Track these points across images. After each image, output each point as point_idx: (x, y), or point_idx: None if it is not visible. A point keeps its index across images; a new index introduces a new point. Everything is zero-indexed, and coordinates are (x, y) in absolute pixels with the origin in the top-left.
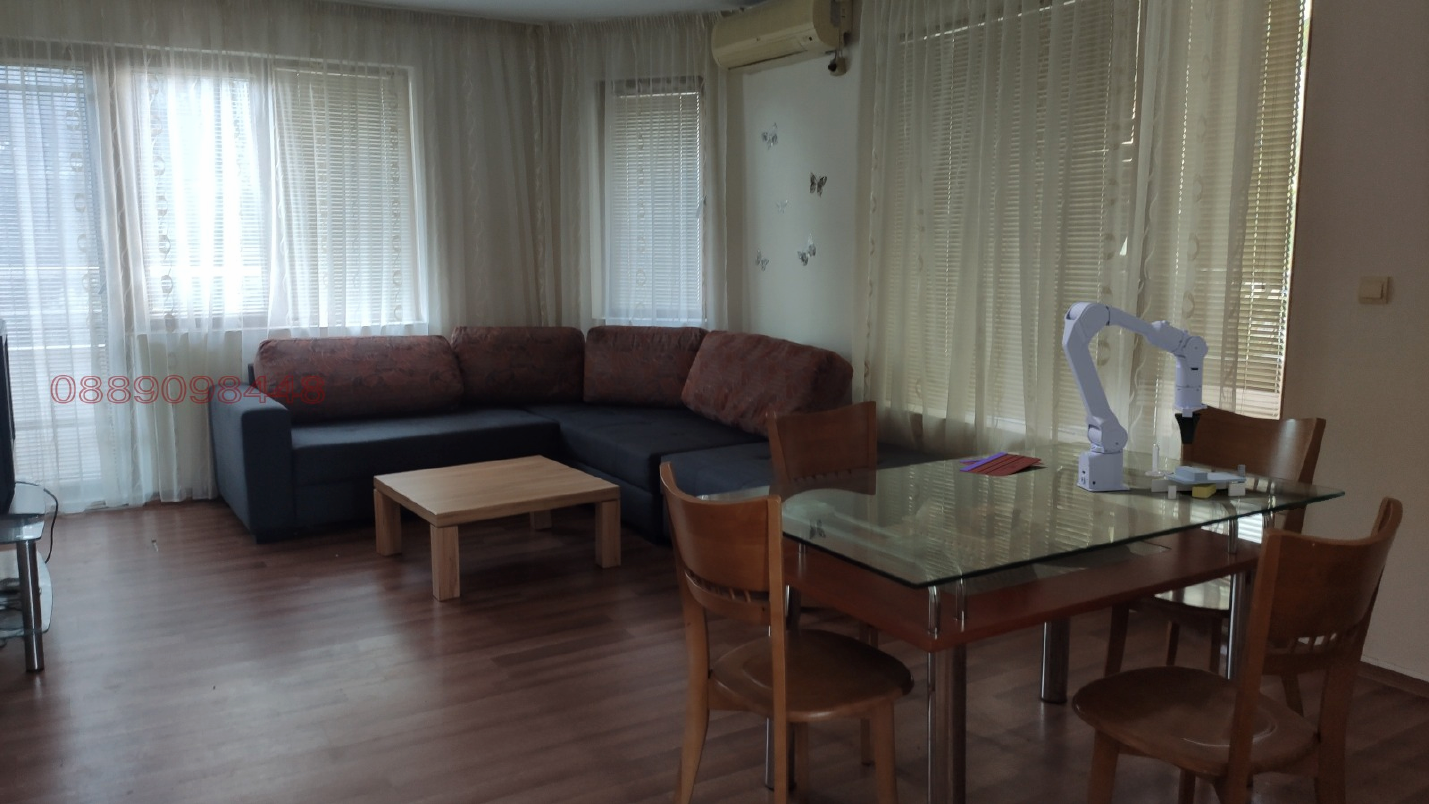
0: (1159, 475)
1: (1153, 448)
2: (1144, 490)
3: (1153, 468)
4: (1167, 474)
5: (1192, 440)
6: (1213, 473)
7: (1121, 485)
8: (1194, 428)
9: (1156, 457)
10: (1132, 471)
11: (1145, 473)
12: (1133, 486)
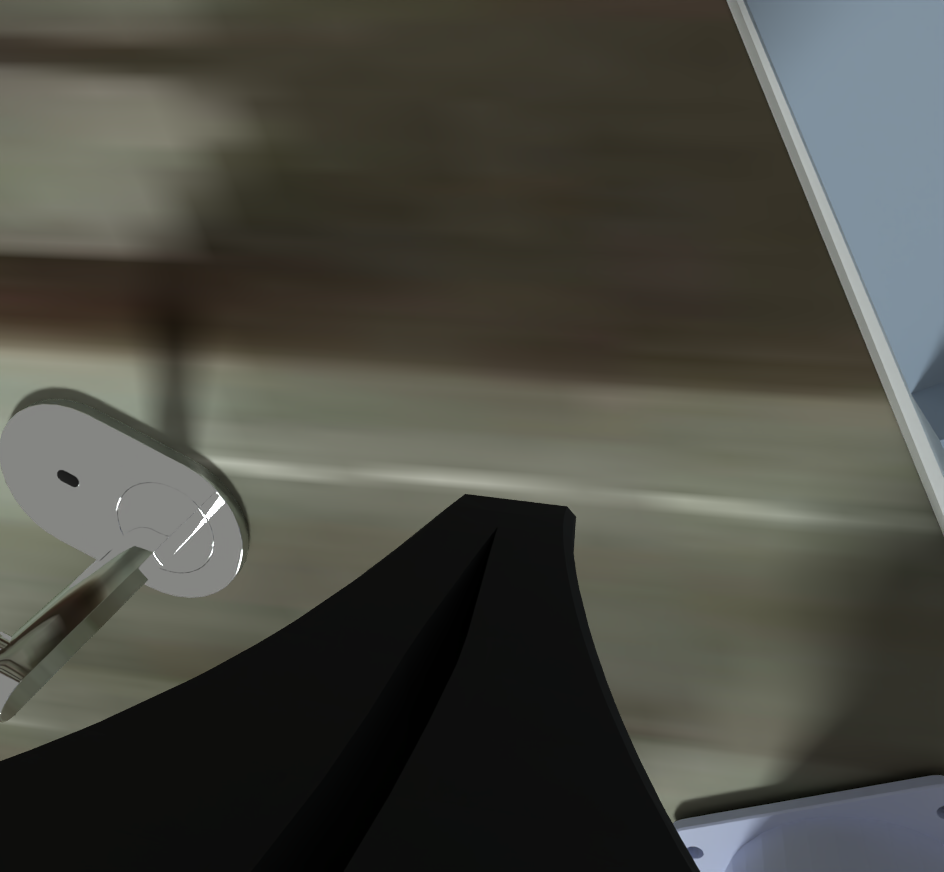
0: (233, 507)
1: (28, 696)
2: (922, 671)
3: (155, 567)
4: (152, 443)
5: (572, 545)
6: (853, 38)
7: (923, 846)
8: (637, 761)
9: (96, 614)
10: (127, 651)
11: (206, 595)
12: (739, 720)
